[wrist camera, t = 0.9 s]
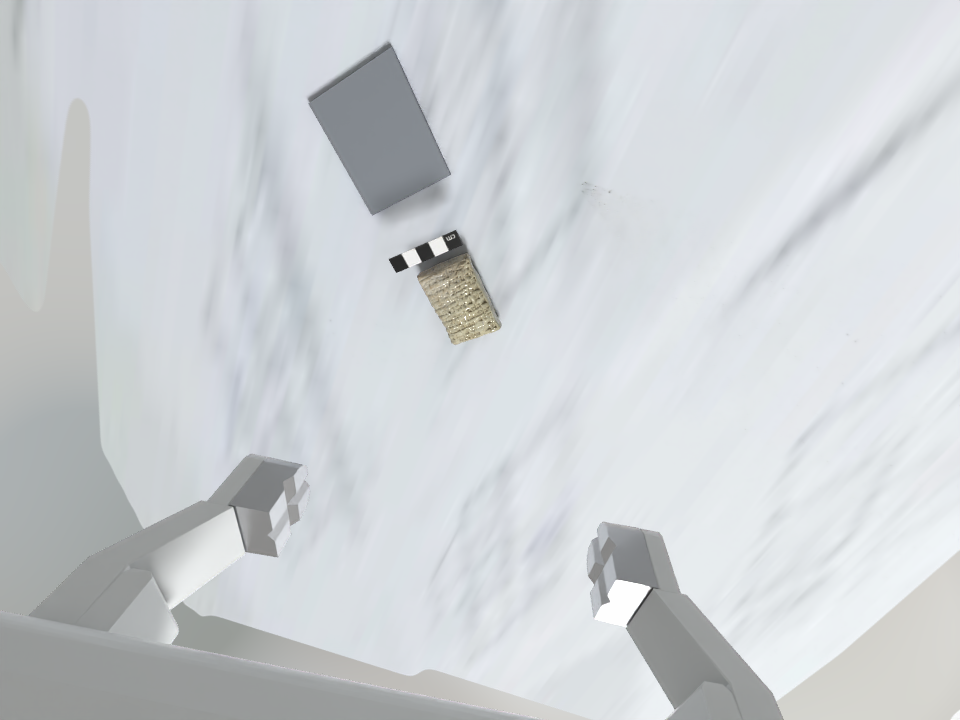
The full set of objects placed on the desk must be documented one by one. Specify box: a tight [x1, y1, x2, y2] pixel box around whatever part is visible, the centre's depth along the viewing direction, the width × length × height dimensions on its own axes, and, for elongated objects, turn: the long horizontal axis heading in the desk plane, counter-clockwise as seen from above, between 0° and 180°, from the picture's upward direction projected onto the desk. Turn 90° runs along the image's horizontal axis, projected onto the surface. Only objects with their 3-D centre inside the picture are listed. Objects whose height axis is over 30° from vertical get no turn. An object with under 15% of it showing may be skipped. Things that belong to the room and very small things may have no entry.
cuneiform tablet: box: [389, 230, 502, 345], centre depth 41 cm, size 7×4×12 cm
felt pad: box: [308, 47, 451, 215], centre depth 36 cm, size 9×10×1 cm
